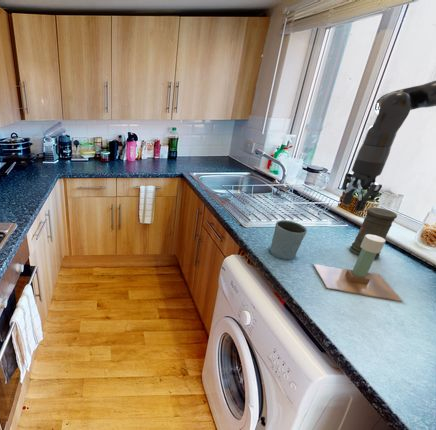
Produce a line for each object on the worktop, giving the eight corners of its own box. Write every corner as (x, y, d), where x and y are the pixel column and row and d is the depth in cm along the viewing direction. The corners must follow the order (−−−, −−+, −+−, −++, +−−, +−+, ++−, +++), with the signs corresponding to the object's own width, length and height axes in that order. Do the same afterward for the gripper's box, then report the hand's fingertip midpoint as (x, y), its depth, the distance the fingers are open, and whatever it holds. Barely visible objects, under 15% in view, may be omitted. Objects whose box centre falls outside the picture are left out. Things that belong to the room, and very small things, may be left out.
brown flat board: (378, 275, 99) (378, 274, 99) (401, 302, 87) (402, 300, 87) (313, 265, 104) (313, 263, 104) (326, 288, 92) (327, 287, 92)
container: (381, 254, 112) (402, 213, 104) (373, 262, 107) (394, 218, 99) (354, 245, 118) (371, 204, 111) (345, 251, 114) (362, 209, 106)
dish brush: (361, 276, 98) (380, 235, 91) (368, 285, 93) (389, 243, 87) (344, 273, 99) (362, 233, 92) (350, 282, 95) (369, 240, 88)
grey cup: (270, 244, 117) (278, 218, 112) (298, 252, 112) (308, 225, 107) (266, 255, 110) (274, 227, 105) (296, 264, 105) (306, 235, 100)
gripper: (401, 165, 86) (378, 216, 93) (367, 154, 99) (349, 200, 106) (375, 164, 86) (354, 215, 93) (344, 153, 99) (328, 198, 106)
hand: (351, 206), depth 99 cm, fingers open, 5 cm apart
